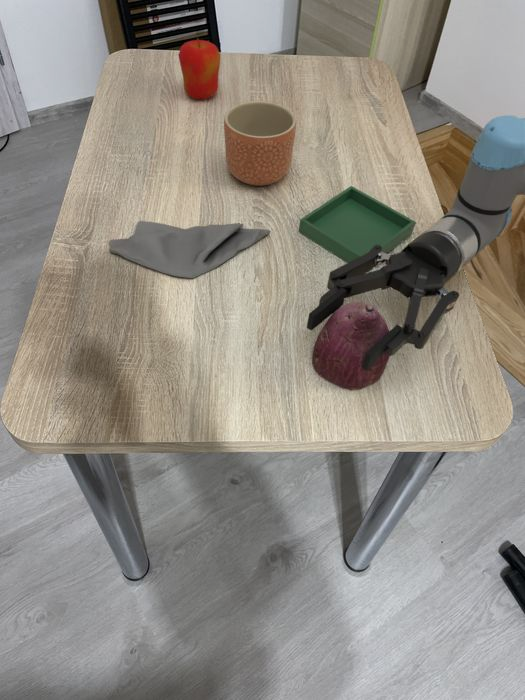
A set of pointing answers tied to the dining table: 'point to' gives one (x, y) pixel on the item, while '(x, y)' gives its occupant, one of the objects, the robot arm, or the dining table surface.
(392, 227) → the green tray
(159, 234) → the cloth
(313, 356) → the vegetable
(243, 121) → the planter
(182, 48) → the apple
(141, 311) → the dining table surface
